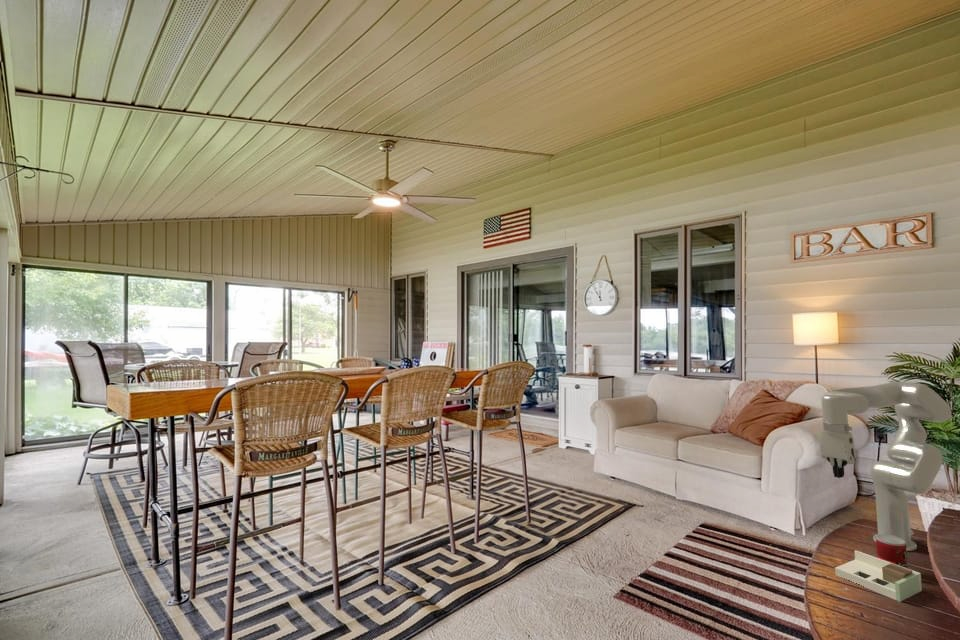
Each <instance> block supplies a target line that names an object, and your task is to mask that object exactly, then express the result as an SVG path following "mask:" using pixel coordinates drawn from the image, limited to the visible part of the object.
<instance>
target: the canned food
mask: <svg viewBox="0 0 960 640" xmlns="http://www.w3.org/2000/svg"><path fill="white" fill-rule="evenodd" d="M875 535H876V534H875ZM875 544H876V558H879V559H882V560H885V561H888V562H890V563H893V564H896V565H899V566H902V567H904V568H907V569H909V568H908V567H909V566H908V554H907V553H908V551H907V550H906V542H905V541H904V540H903V539H901V538H899V537H896V536H892V535H886V534H879V535H876V542H875Z"/></svg>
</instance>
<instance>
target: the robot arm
mask: <svg viewBox="0 0 960 640" xmlns="http://www.w3.org/2000/svg"><path fill="white" fill-rule="evenodd" d="M889 406H894V412H895V414H896V417H897V422H898V429H897V431H896V434H895V435H894V437H893V438H892V440H891V443H890V444H889V445H888V448H887V449H886V450H887V452H886V456H887V458H888V459H889V460H884V459H883V460H877V461H874V462H873V463H872V464H871V466H870V476H871V479H872V483H873V488H874V494H875V508H876V522H877V523H876V525H877V533H876V534H874V535H873V536H872V538H873V541H874V542H875V543H876V535H879V534H886V535H892V536H896V537H899V538H901V539H903V540H904V541H905V542H906V550H907V552H912V551H915V550H917V547H918V546H917V544H916V542H914V541H913V540H912V537H911V536H913V535H914V533H915V532H914V531H913V530H912V529H911V524H910V523H911V522H910V510H909V509H910V507H909V499H908V496H907V495H906V493H905V492H909V493H911V494H918V495H922V494H926V492H928V491H929V490H930V488H931V486H932V484H933V482H934V481H935V479H936V477H937V475H938V474H939V471H940V470H941V467H942V465H943V454H942V451H941V450H940V449H939V448H938V447H936V446H935V445H932V444H928V443H925V442H926V440H927V437H928V434H927V431H926V429H925V428H924V426H923V425H922V423H921V422H920V421H926V422H931V423H932V422H933V423H945V422H947V421H949V420H950V418H951V417H952V410H951V407H950V405H949V404H948V403H947V401H946V400H944V399H943V398H942V397H941V395H939V394H938V393H937V392H935V390H933V389H932V388H930V387H929V386H928V385H926V384H924V383H923V384H922V383H919V382H905V381H891V382H886V383H882V384H876V385H871V386H870V385H869V386H868V385H867V386H859V387H857V386H856V387H847V388H845V387H843V388H837V389H833V390H830V391H828V392H826V393H825V394H823V395H822V396H821V412H822V427H823V429H822V430H821V433H820V438H819V439H820V440H819V442H820V443H819V448H820V454H821V456H820V457H821V458H822V459H825V460H826V461H828V462H829V463H830V466H831V467H832V474H833V477H834V478H838V479H841V478H844V477H845V467H846V466H847V465H855V464H856V462H855V459H856V458H857V452H856V451H857V450H856V444H855V440H854V437H853V434H852V432H849V431H853V427H852V426H849V417H848V414H854V415H857V414H858V415H859V414H864V413H866V412H867V411H868V410H869V409H876V408H877V409H879V408H881V409H882V408H887V407H889ZM890 460H891V461H890Z"/></svg>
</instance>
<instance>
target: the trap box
mask: <svg viewBox="0 0 960 640" xmlns="http://www.w3.org/2000/svg"><path fill="white" fill-rule="evenodd" d="M889 564H891V563H890V562H888V561H885V560H882V559H879V558H877V556H874V555H870V554H868V553H865V552H861V551H860V550H854V559H852V560H850V561H847V562H846V563H843V564H841V565H839V566H838V565H837V566H836V567H835V568H834V572H835V574H834V576H837V577H839V578H841V577H842V578H841V579H844V578H845V579H844V580H846V579H847V580H846V581H848V580H850V581H849V582H851V581H852V582H851V583H853V582H854V584H856V583H857V584H856V585H858V584H860V585H859V586H861V585H862V586H861V587H863V586H864V588H865V589H868V590H871V591H873V592H875V593H878V594H880V595H883V596H885V597H887V598H889V599H891V600H892V599H893V600H895V601H897V602H899V603H901V602H903V601H905V600H907V599H908V598H911V597H912V596H914V595H916V594H918V593H920V592H922V591H923V590H922V588H923V587H922V574H921V572H919V571H915V570H912V569H909V568H908V569H909V570H912V574H911V575H909V576H907V577H905V578H903V579H901V580H899V581H897V582H895V584H893V583H890V582H888V581H885V580H883V572H882V567H884V566H886V565H889ZM892 564H893V563H892ZM895 565H896V564H895ZM898 566H899V565H898ZM900 567H902V566H900ZM903 568H904V567H903ZM906 569H907V568H906Z"/></svg>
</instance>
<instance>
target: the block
mask: <svg viewBox="0 0 960 640" xmlns="http://www.w3.org/2000/svg"><path fill="white" fill-rule="evenodd" d="M882 572H883V580H885V581H888V582H890V583H893V584H895V582H897V581H899V580H901V579H903V578H905V577H907V576H909V575H911V574H912V569H910V570H909V568H908V569H906V568H903V567H900V566H898V565H895V564H892V563H891V564H889V565H886V566H884V567H882Z"/></svg>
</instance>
